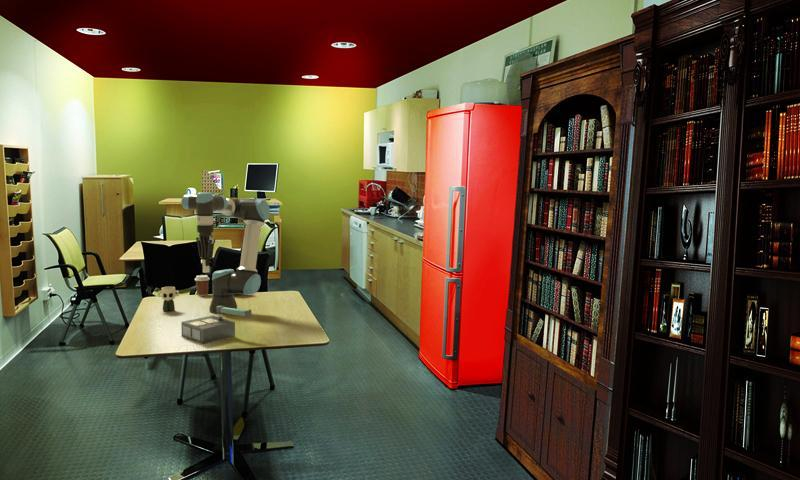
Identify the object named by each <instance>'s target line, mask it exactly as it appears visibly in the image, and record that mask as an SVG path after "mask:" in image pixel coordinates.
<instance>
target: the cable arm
mask: <svg viewBox="0 0 800 480" xmlns="http://www.w3.org/2000/svg"><path fill="white" fill-rule="evenodd" d="M218 313H224V314H230V315H235V316H240V317H244V318H245V319H248V318H251V317H252V309H247V310H246V309H239V308H237V309H234V308H227V307H224V306H217V313H216V314H218Z"/></svg>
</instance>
